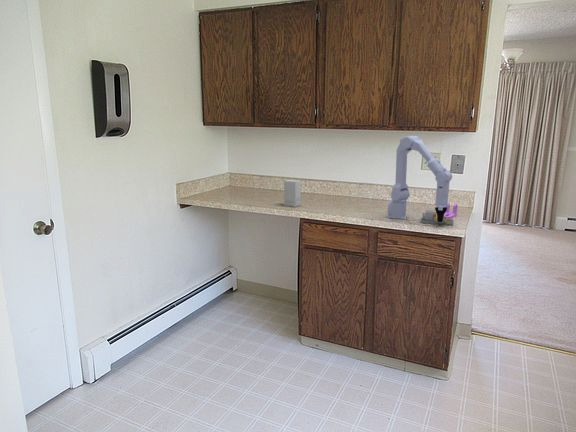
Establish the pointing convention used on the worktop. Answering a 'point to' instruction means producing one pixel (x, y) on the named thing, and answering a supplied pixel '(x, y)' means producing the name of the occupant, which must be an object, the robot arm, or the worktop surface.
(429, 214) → the block
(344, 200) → the worktop surface
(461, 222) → the worktop surface
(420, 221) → the grey latch board
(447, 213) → the bracket
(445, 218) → the keeper bar
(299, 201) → the skincare box
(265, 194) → the worktop surface
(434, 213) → the orange block with stem
